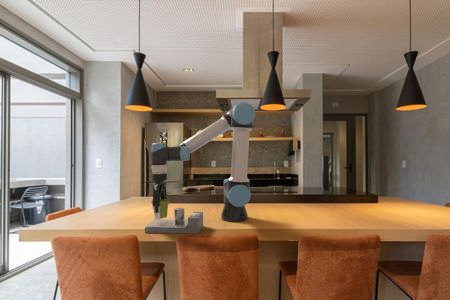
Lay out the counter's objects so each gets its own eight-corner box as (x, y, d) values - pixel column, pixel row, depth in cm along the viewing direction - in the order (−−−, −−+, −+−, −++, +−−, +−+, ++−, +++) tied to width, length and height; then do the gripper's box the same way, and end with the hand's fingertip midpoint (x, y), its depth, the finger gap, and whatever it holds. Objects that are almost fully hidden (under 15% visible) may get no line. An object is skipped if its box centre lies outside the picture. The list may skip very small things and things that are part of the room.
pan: (191, 221, 165) (191, 219, 165) (186, 227, 153) (186, 226, 153) (155, 220, 168) (155, 219, 168) (147, 227, 156) (147, 225, 156)
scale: (203, 226, 165) (202, 210, 165) (198, 233, 152) (197, 217, 152) (154, 225, 168) (153, 210, 168) (145, 232, 156) (144, 216, 155)
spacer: (181, 220, 163) (181, 207, 163) (186, 223, 159) (186, 209, 159) (173, 222, 160) (172, 209, 160) (177, 224, 156) (177, 210, 156)
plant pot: (168, 219, 156) (167, 202, 156) (149, 219, 156) (148, 202, 156) (171, 214, 166) (171, 198, 165) (154, 215, 166) (153, 198, 165)
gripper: (159, 170, 171) (160, 211, 172) (144, 175, 150) (145, 222, 151) (172, 170, 170) (173, 212, 171) (159, 175, 149) (160, 222, 150)
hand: (160, 216), depth 161 cm, fingers closed on plant pot, 8 cm apart
